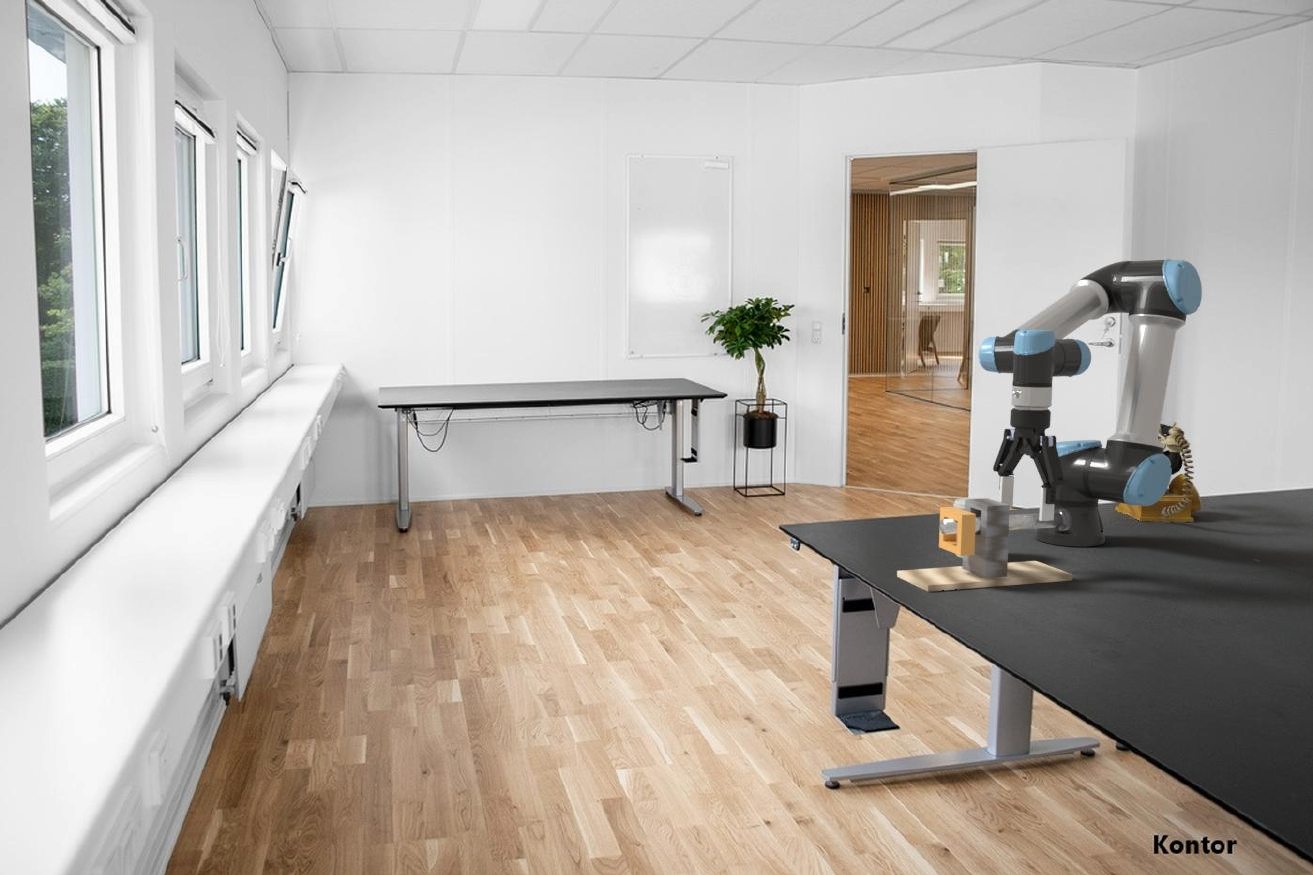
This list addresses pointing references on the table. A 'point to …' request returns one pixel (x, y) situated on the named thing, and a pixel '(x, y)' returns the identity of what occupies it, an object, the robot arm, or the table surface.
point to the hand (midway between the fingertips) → (1025, 514)
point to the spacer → (959, 531)
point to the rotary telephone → (1171, 484)
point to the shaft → (1018, 522)
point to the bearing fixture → (985, 558)
